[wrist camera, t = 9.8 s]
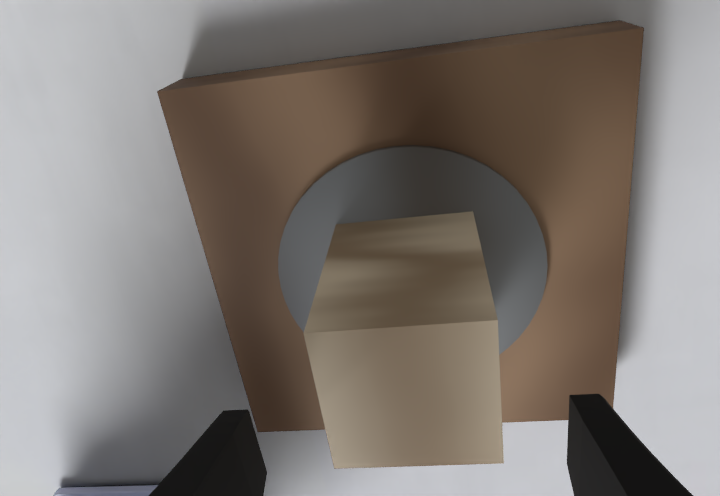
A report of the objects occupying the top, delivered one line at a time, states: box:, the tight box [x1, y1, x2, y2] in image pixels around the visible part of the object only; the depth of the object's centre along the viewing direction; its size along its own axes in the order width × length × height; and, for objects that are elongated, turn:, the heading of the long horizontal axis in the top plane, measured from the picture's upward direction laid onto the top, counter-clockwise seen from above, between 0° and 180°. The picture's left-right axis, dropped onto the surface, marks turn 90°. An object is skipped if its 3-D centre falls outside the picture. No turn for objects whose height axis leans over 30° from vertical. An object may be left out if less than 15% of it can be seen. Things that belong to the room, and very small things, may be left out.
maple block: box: [304, 211, 504, 469], centre depth 16 cm, size 4×4×6 cm
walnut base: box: [157, 21, 644, 432], centre depth 20 cm, size 14×14×2 cm
